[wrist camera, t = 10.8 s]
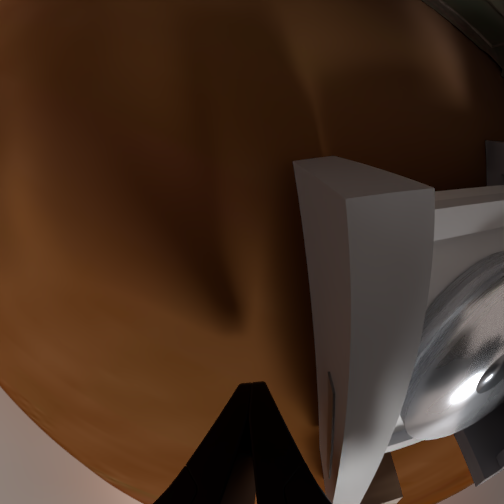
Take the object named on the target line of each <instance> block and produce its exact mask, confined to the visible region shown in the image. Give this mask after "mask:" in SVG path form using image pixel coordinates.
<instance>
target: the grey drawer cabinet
mask: <svg viewBox="0 0 504 504" xmlns="http://www.w3.org/2000/svg"><path fill="white" fill-rule="evenodd" d="M485 145H486V167H487V186H498V185H504V141H488V140H485ZM454 436H455V438H456V440H457V442H458V445H459V447H460V449H461V451H462V454H463V456H464V458H465V461H466V463H467V466H468V468H469V471H470V473H471V476H472V478H473V481H474V483H475V486H478V485H480V484H482V483H483V482H485V481H487V480H488V479H490V478H491V477H493V476H495V475H496V474H498V473H499V472H501V471H502V470H504V402H503V403H501V404H500V405H499V406H498V407H497V408H495V409H494V410H493V411H492V412H490V413H489V414H488V415H486V416H485V417H483V418H482V419H480V420H479V421H477V422H475V423H474V424H472V425H470V426H468V427H467V428H465V429H463V430H461V431H458V432H456V433H454Z"/></svg>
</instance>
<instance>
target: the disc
mask: <svg viewBox="0 0 504 504" xmlns="http://www.w3.org/2000/svg"><path fill="white" fill-rule="evenodd" d="M503 402H504V251H500V252H497V253H493V254H491V255H489V256H487V257H485V258H483V259H481V260H480V261H478V262H477V263H475V264H473V265H472V266H470V267H469V268H468V269H467V270H465V271H464V272H463V273H462V274H460V275H459V276H458V277H457V278H456V279H455V280H454V281H453V282H451V283H450V284H449V285H448V286H447V287H446V288H445V289H444V290H443V291H442V292H441V293H440V294H439V295H438V296H437V298H436V299H435V300H434V301H433V302H432V303H431V305H430V306H429V307H428V308H427V309H426V313H425V319H424V325H423V330H422V335H421V340H420V344H419V349H418V353H417V357H416V361H415V365H414V369H413V373H412V376H411V380H410V383H409V387H408V390H407V394H406V397H405V400H404V403H403V406H402V409H401V412H400V416H401V419H402V421H403V424H404V427H405V429H406V431H407V433H408V435H410V436H411V437H413V438H415V439H419V440H432V439H438V438H442V437H445V436H448V435H451V434H454V433H456V432H458V431H461V430H463V429H465V428H467V427H468V426H470V425H472V424H474V423H475V422H477V421H479V420H480V419H482V418H483V417H485V416H486V415H488V414H489V413H490V412H492V411H493V410H494V409H495V408H497V407H498V406H499V405H500V404H501V403H503Z"/></svg>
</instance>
